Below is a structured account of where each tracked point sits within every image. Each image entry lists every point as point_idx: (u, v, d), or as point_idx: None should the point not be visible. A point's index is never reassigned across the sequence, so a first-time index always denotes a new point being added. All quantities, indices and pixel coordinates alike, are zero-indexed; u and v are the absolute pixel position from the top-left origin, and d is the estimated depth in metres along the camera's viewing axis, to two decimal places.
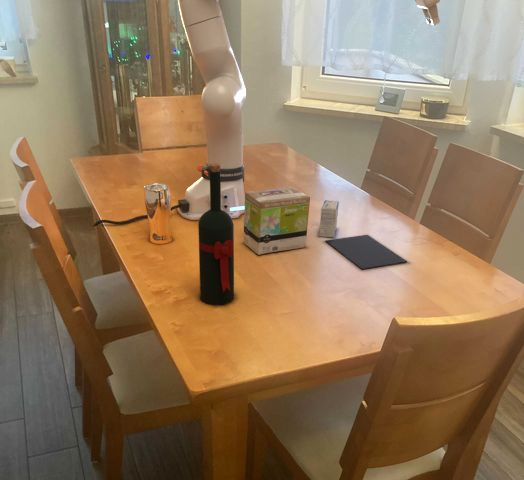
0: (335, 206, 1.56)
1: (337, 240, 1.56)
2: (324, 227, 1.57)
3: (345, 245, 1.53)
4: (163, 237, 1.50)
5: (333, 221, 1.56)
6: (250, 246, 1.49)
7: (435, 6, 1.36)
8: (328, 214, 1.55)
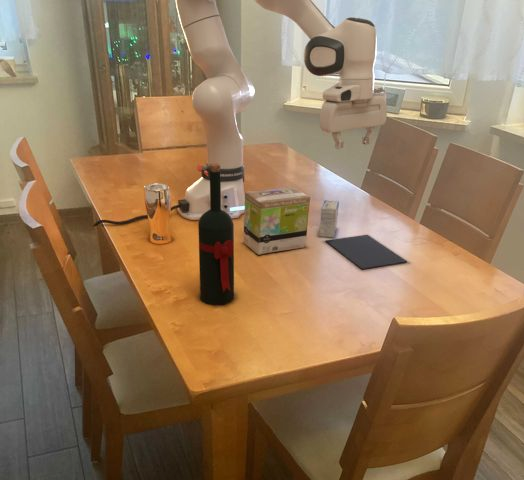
0: (335, 206, 1.56)
1: (337, 240, 1.56)
2: (324, 227, 1.57)
3: (345, 245, 1.53)
4: (163, 237, 1.50)
5: (333, 221, 1.56)
6: (250, 246, 1.49)
7: (336, 134, 1.43)
8: (328, 214, 1.55)
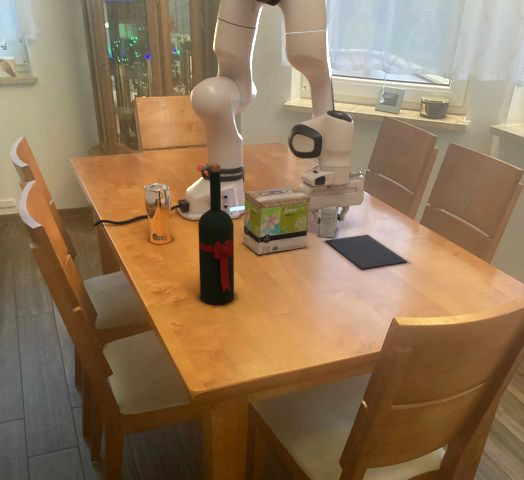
0: (335, 206, 1.56)
1: (337, 240, 1.56)
2: (324, 227, 1.57)
3: (345, 245, 1.53)
4: (163, 237, 1.50)
5: (333, 221, 1.56)
6: (250, 246, 1.49)
7: (313, 211, 1.55)
8: (328, 214, 1.55)
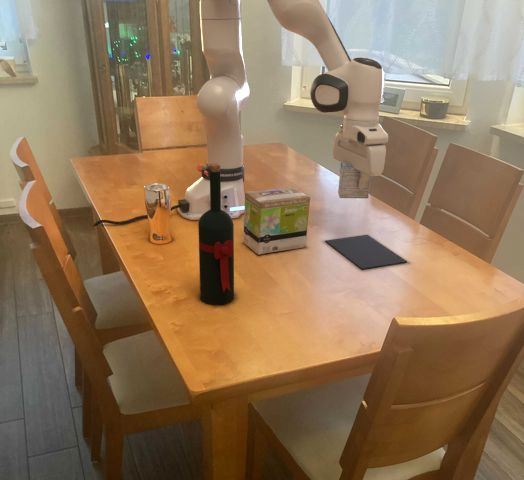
0: None
1: (337, 240, 1.56)
2: None
3: (345, 245, 1.53)
4: (163, 237, 1.50)
5: None
6: (250, 246, 1.49)
7: None
8: None
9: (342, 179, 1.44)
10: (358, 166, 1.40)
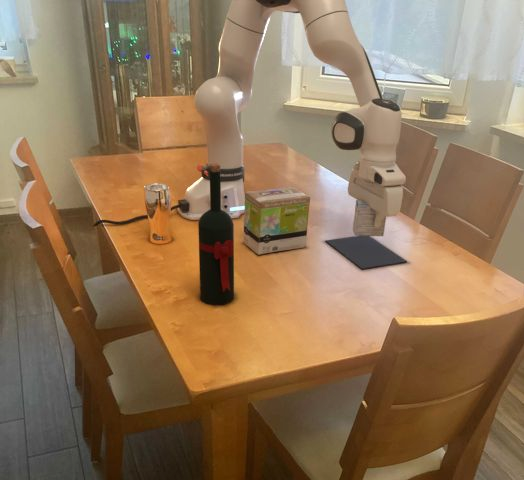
0: None
1: (337, 240, 1.56)
2: None
3: (345, 245, 1.53)
4: (163, 237, 1.50)
5: None
6: (250, 246, 1.49)
7: None
8: None
9: (357, 217, 1.43)
10: (374, 205, 1.39)
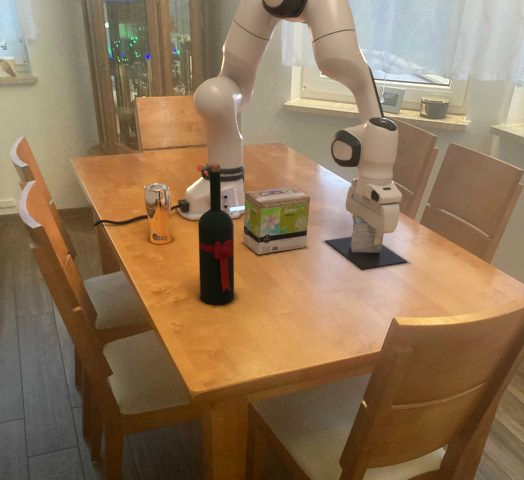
0: None
1: (337, 240, 1.56)
2: None
3: (345, 245, 1.53)
4: (163, 237, 1.50)
5: None
6: (250, 246, 1.49)
7: None
8: None
9: (355, 235, 1.46)
10: (371, 222, 1.42)
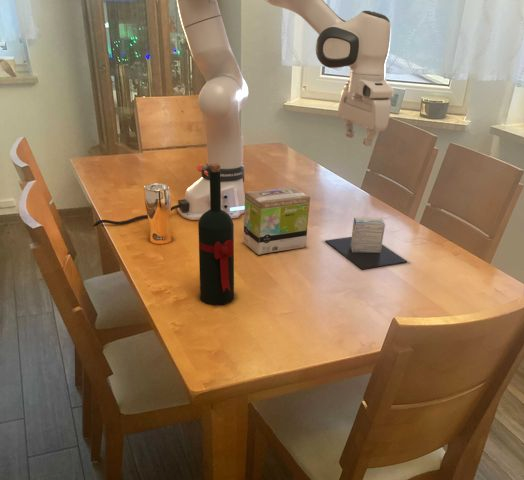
0: (374, 218, 1.47)
1: (337, 240, 1.56)
2: None
3: (345, 245, 1.53)
4: (163, 237, 1.50)
5: None
6: (250, 246, 1.49)
7: (375, 131, 1.41)
8: None
9: (355, 235, 1.46)
10: (363, 121, 1.41)
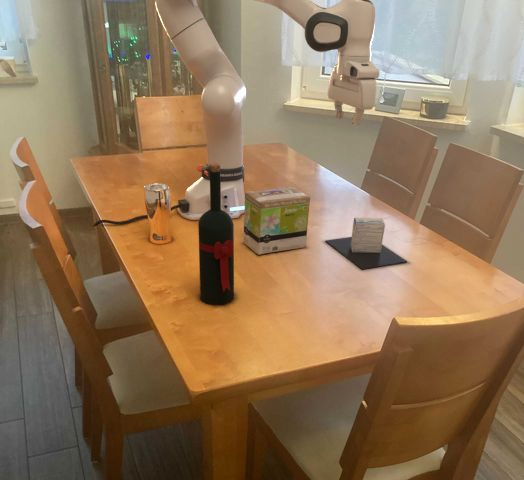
0: (374, 218, 1.47)
1: (337, 240, 1.56)
2: None
3: (345, 245, 1.53)
4: (163, 237, 1.50)
5: None
6: (250, 246, 1.49)
7: (363, 110, 1.49)
8: None
9: (355, 235, 1.46)
10: (351, 101, 1.49)
